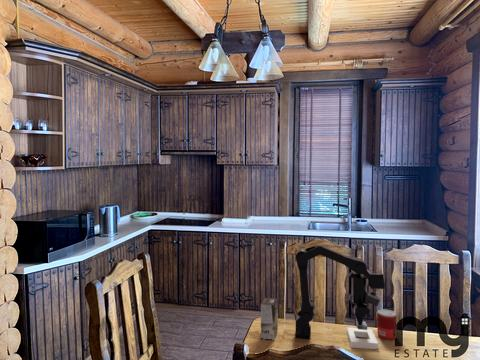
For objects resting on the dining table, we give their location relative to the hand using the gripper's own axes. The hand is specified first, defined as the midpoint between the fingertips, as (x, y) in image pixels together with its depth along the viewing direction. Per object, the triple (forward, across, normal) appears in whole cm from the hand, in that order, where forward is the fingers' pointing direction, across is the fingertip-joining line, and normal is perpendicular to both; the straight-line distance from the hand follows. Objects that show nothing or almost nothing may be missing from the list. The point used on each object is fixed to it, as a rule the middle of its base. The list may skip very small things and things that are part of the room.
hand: (359, 322), depth 156 cm
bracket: (+2, 0, -1) cm, 2 cm away
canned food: (+8, +6, -13) cm, 17 cm away
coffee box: (+8, -1, +40) cm, 41 cm away
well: (+8, 0, -1) cm, 8 cm away
